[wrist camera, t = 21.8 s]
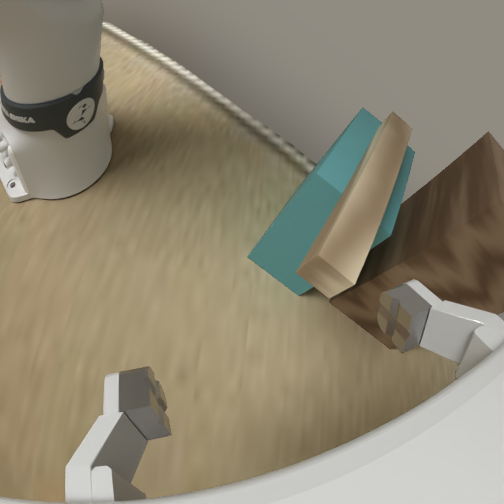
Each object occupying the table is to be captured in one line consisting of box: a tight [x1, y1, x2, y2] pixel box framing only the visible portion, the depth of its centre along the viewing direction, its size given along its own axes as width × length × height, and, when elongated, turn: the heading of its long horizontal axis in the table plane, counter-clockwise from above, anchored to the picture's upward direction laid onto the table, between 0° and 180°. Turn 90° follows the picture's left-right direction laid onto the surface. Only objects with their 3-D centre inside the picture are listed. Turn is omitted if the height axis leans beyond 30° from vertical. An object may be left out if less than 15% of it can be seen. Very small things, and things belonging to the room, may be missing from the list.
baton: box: [296, 112, 412, 298], centre depth 24 cm, size 3×22×3 cm, turn 147°
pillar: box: [330, 132, 504, 349], centre depth 33 cm, size 12×13×26 cm
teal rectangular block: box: [248, 108, 415, 296], centre depth 35 cm, size 8×15×17 cm, turn 148°
